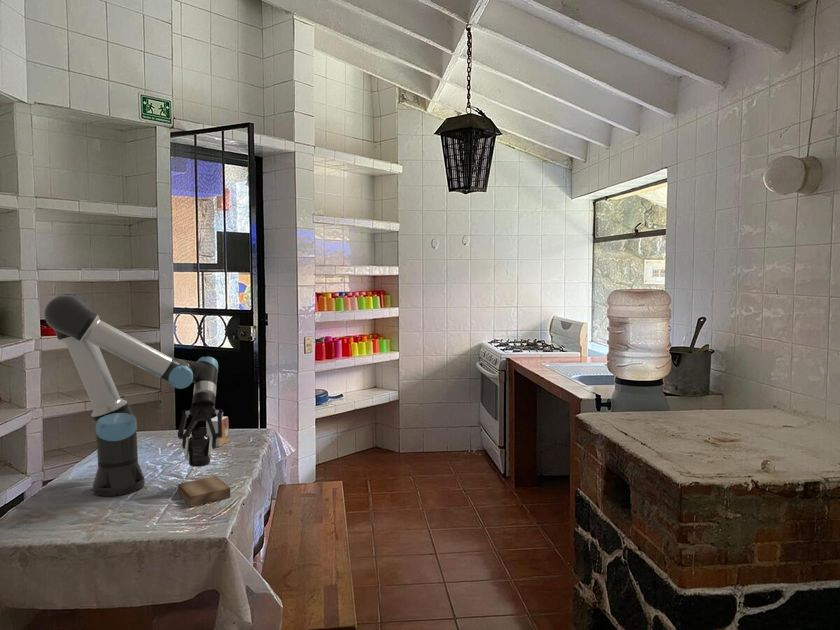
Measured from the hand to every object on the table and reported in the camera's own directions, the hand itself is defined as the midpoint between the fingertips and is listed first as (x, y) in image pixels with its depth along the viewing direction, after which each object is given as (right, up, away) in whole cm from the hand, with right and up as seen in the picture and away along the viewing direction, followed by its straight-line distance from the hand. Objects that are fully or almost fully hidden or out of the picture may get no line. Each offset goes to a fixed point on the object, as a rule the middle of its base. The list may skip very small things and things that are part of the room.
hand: (198, 456), depth 199 cm
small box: (-9, -6, +47) cm, 48 cm away
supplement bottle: (-1, -4, +4) cm, 5 cm away
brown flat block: (+5, -11, -7) cm, 14 cm away
